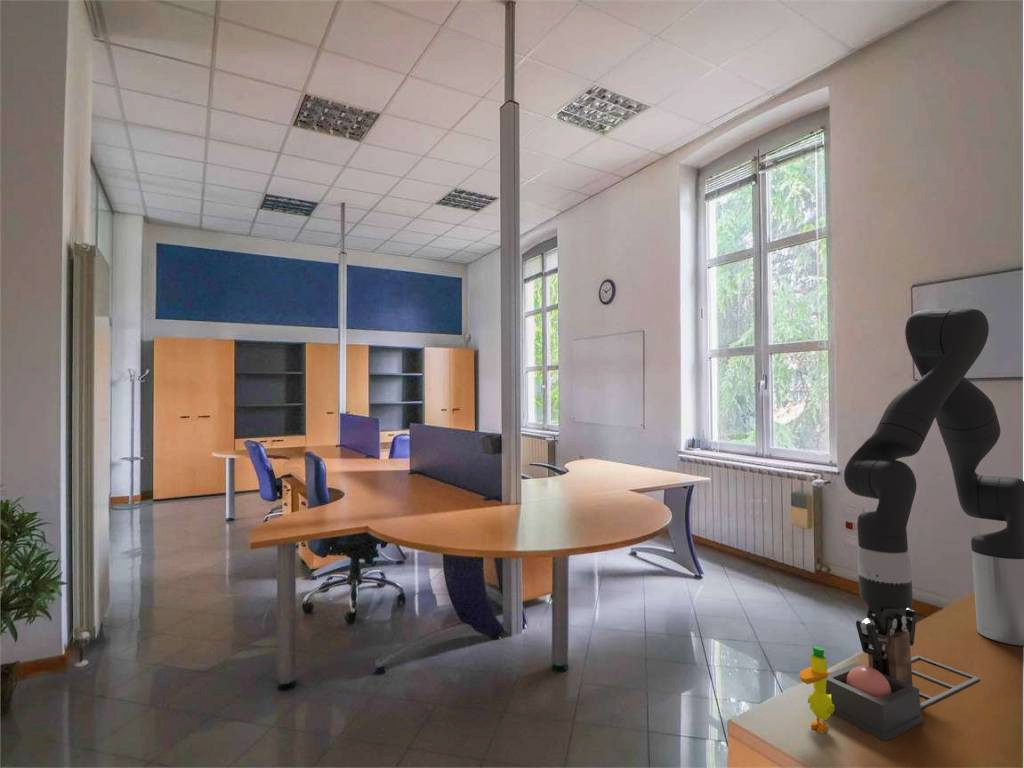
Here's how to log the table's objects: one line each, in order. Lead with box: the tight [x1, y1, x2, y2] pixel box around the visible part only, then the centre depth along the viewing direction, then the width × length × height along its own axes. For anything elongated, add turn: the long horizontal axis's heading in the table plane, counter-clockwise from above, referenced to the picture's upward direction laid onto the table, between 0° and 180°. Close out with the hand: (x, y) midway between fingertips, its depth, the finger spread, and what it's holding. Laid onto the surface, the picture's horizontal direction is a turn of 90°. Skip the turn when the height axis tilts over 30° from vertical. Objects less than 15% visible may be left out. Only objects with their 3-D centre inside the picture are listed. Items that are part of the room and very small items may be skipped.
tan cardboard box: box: [867, 631, 914, 686], centre depth 90 cm, size 4×4×9 cm
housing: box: [826, 662, 924, 742], centre depth 84 cm, size 10×10×5 cm
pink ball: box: [846, 665, 892, 699], centre depth 84 cm, size 6×6×6 cm
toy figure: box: [798, 645, 834, 734], centre depth 80 cm, size 7×4×12 cm, turn 116°
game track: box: [911, 655, 981, 710], centre depth 92 cm, size 22×10×1 cm, turn 116°
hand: (890, 674), depth 89 cm, fingers closed on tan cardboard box, 4 cm apart
